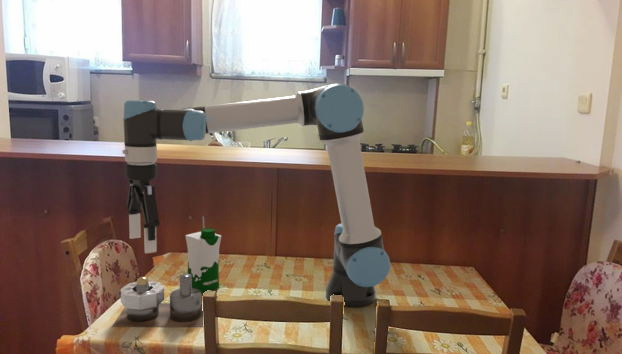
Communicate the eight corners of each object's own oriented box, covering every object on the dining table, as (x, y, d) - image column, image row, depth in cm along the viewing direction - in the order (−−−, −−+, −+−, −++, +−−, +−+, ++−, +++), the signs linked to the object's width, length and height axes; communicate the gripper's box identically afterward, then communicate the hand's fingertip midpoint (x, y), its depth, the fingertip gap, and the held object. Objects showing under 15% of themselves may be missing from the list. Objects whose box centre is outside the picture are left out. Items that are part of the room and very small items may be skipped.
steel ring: (118, 297, 127) (117, 285, 127) (156, 290, 133) (155, 278, 133) (128, 312, 119) (127, 299, 119) (168, 303, 125) (168, 291, 124)
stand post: (173, 308, 131) (173, 270, 130) (203, 308, 132) (203, 270, 130) (167, 322, 124) (166, 281, 122) (198, 322, 124) (199, 281, 123)
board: (127, 308, 134) (127, 302, 134) (215, 308, 136) (215, 303, 136) (111, 332, 120) (111, 326, 120) (209, 332, 122) (209, 326, 122)
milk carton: (200, 300, 141) (201, 234, 138) (181, 291, 146) (181, 228, 143) (223, 292, 148) (224, 228, 144) (205, 283, 153) (205, 222, 150)
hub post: (131, 308, 130) (130, 271, 129) (161, 308, 131) (161, 271, 129) (122, 322, 123) (121, 283, 121) (155, 322, 123) (154, 283, 122)
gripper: (112, 157, 128) (115, 234, 132) (139, 171, 108) (141, 261, 112) (141, 156, 132) (143, 230, 136) (172, 169, 112) (173, 256, 116)
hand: (142, 244), depth 124 cm, fingers open, 13 cm apart
